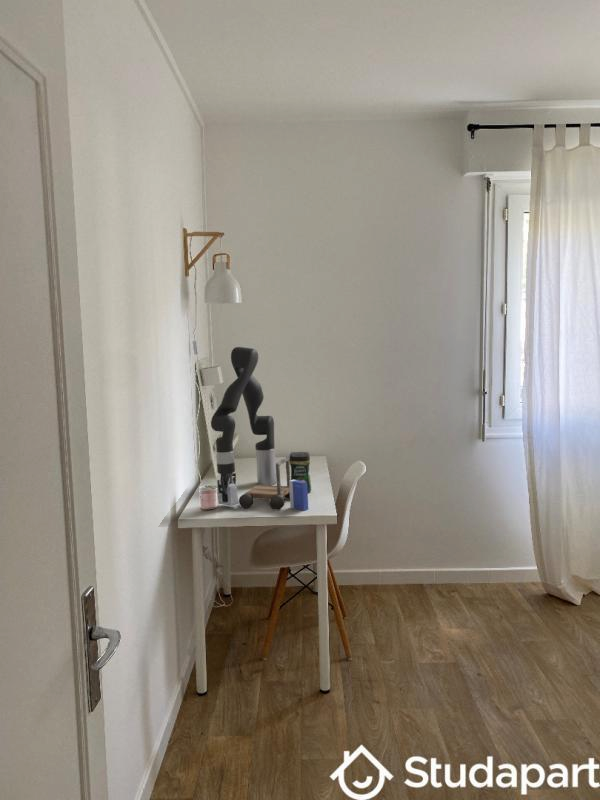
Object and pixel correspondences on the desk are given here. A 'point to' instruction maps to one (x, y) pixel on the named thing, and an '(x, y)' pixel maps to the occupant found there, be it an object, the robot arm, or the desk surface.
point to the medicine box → (229, 495)
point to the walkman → (298, 494)
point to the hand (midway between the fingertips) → (228, 499)
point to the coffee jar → (300, 467)
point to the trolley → (269, 490)
